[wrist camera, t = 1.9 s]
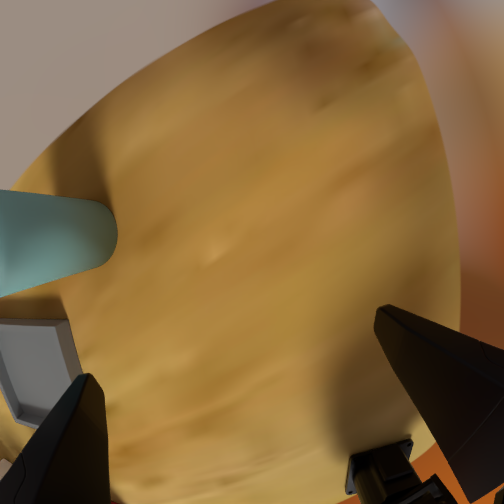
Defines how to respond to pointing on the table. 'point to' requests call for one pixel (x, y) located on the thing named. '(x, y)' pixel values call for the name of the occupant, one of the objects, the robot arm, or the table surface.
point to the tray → (36, 366)
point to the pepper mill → (51, 238)
